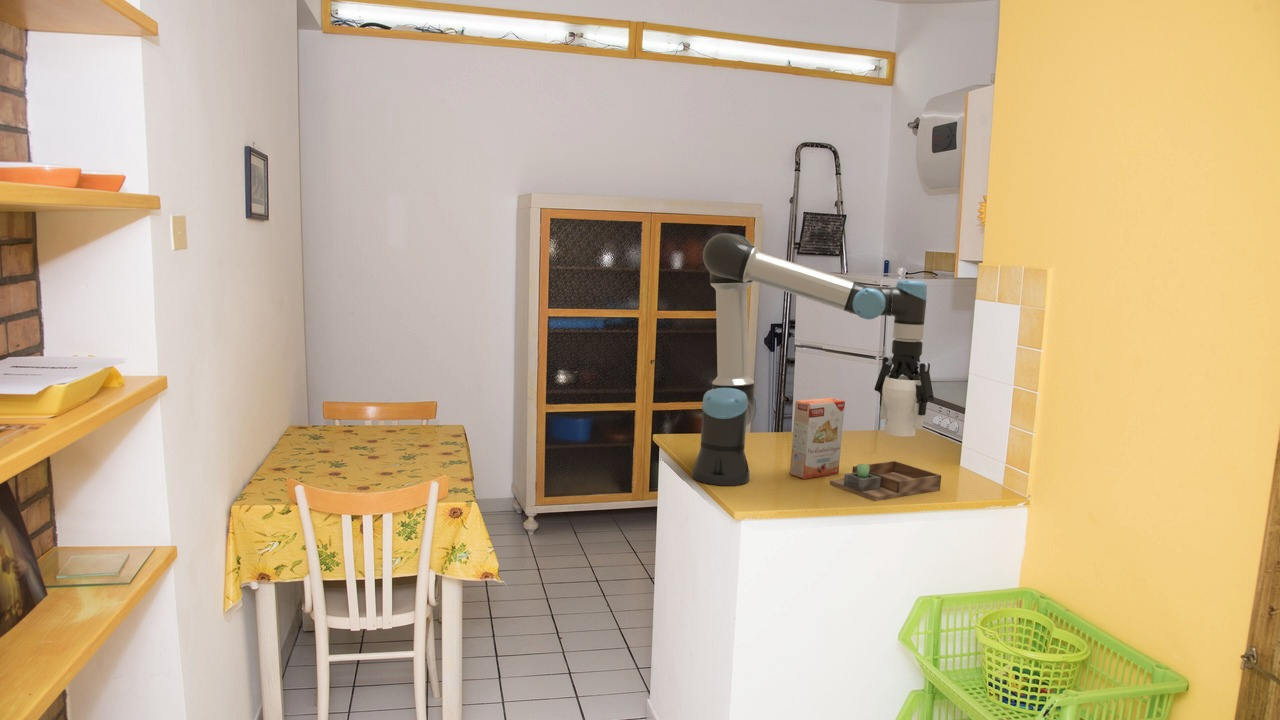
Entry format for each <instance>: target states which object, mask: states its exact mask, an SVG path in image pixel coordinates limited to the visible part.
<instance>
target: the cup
mask: <svg viewBox="0 0 1280 720" xmlns="http://www.w3.org/2000/svg"><path fill="white" fill-rule="evenodd" d="M889 375H890V374H889ZM889 375H888V376H886V377H885V381H884V384H883V391H882V394H883V399H884V402H885V405H886V407H887V411H888V419H887V422H886V423H885V424H886V425H885V430H884V433H886V434H887V435H890V436H896V437H903V438H906V437H914V436H916V428H914V427H913V422H914V410H915V403H916V402H917V401H918V400H917V397H916V385H918V386H919V385H921V381H920V380H910V379H908V377H907V376H904V375H901V376H899V378H898V379H893V378H889Z"/></svg>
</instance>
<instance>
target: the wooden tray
mask: <svg viewBox="0 0 1280 720" xmlns="http://www.w3.org/2000/svg"><path fill="white" fill-rule="evenodd" d="M867 465H869V477H868V478H860V477H858V476H857V465H853V466H852V471H851V472H847V473H844V478H838V479H831V480H829V485H831V486H834V487H836V488H839V489H842V490H845V491H847V492H850V493H853V494H855V495H858V496H861V497H863V498H866V499H869V500H872V501H874V502H877V501H882V500H887V499H888V500H889V499H894V498H895V499H896V498H899V497H906V496H907V497H908V496H913V495H919V494H925V493H930V492H936V491H937V492H938V491H941V482H942V475H941V474H938V473H935V472H932V471H930V470H929V471H928V470H926V469H921V468H918V467H915V466H912V465H909V464H906V463H902V462H899V461H896V460H893V461H892V460H891V461H885V462H877V463H870V464H869V463H868V464H867Z"/></svg>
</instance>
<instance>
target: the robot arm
mask: <svg viewBox="0 0 1280 720" xmlns="http://www.w3.org/2000/svg"><path fill="white" fill-rule="evenodd" d="M702 259H703V263H704V265H705V267H706V269H707V270H708V271H709V283H710V286H711V287H712V288H714V290H715V301H716V302H715V304H716V305H715V307H716V310H715V313H716V355H717V357H716V362H717V370H716V371H717V376H716V377H715V379H714V380H713V381H712V382H711V385H712V386H711V387H712V389H709V390H707V391H706V392H705V393H704V394H703V398H702V402H701V408H702V409H701V411H702V413H701V433H700V448H699V451H698V454H697V456H696V459H695V461H694V465H693V466H692V478H693V479H695V481H698V482H701V483H704V484H708V483H709V485H713V486H714V485H715V486H740V485H743V484H744V485H745V484H747V483H748V482H749V481H750V473H751V472H750V468H749V465H748V460H747V456H746V453H745V449H746V448H745V447H746V446H745V445H746V444H745V443H746V432H747V431H746V428H747V426H748V425H750V424H751V422H753V420H754V419H755V416H756V414H757V411H758V402H757V399H756V398H757V397H756V395H755V381H754V379H753V378H751V377H750V375H749V329H748V328H749V323H748V322H749V321H748V320H749V319H748V318H749V317H748V316H749V315H748V290H749V288H750V287H751V286H752V284H753V282H755V283H757V284H761V285H765V286H767V287H770V288H773V289H777V290H780V291H782V292H786V293H789V294H790V295H791V294H792V295H795V296H797V297H800V298H801V297H802V298H804V299H808V300H810V301H814V302H817V303H819V304H823V305H826V306H828V307H832V308H835V309H837V310H841V311H844V312H847V313H850V314H854V315H856V316H858V317H859V318H862V319H864V320H873V319H877V318H879V317H880V316H883V317H884V316H885V317H887V316H888V317H891V316H892V317H894V321H893V331H892V338H894V339H893V340H892V343H891V353H892V356H883V357H882V365H881V367H880V371H879V374H878V377H877V380H876V383H875V385H874V391H875V392H878V393H879V406H880V416H879V417H880V418H879V419H880V420H888V411H887V407H886V405H885V402H884V399H883V394H882V391H883V384H884V381H885V377H886V376H888V375H889V378H893V379H898V378H899V376H901V375H904V376H907V377H908V379H910V380H920V381H921V385H919V386H918V385H916V397H917V400H918V401H917V402H916V403H915V410H914V422H913V427H914V428H915V429H916V428H917V429H918V428H923V426H924V425H923V424H924V416H926V413H927V404H928V403H929V402H930V403H931V402H933V401H934V400H935V397H934V392H933V391H934V390H933V385H932V379H931V375H930V373H931V372H930V370H931V364H930V363H929V362H921V359H920V358H921V356H922V354H923V344H924V343H923V342H922V341H921V340H923V339H924V330H925V329H924V328H925V318H926V316H925V315H926V308H927V300H928V299H927V292H928V291H927V290H928V288H927V287H928V286H927V285H928V284H926V282H925V281H923V280H910V279H909V280H905V279H902V280H901V279H900V280H897V283H896V286H893V287H892V286H891V287H890V286H889V287H887V286H873V285H872V286H871V285H865V284H861V283H858V282H854V281H852V280H848V279H845V278H842V277H839V276H836V275H832V274H829V273H827V272H824V271H820V270H819V269H814V268H811V267H808V266H805V265H802V264H798V263H795V262H792V261H789V260H786V259H782V258H779V257H776V256H773V255H770V254H767V253H764V252H761V251H759V248H758V246H754V245H752V243H751V242H750V241H749V240H748V239H747V238H746V237H745V236H743V235H740V234H737V233H729V232H728V233H727V232H726V233H724V232H723V233H719V234H716V235H714V236H712V237H711V238H710V239H708V241H707V242H706V244H705V246H704V247H703V251H702Z"/></svg>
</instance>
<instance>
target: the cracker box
mask: <svg viewBox="0 0 1280 720" xmlns="http://www.w3.org/2000/svg"><path fill="white" fill-rule="evenodd" d="M845 405H846V401H845V400H842V399H838V398H833V397H825V398H814V399H813V398H812V399H811V398H810V399H809V398H808V399H799V400H795V403H794V418H793V429H792V430H793V431H792V442H791V443H792V444H791V454H790V455H791V456H790V467H789V468H790V469H789V475H790V476H794V477H797V478H799V479H802V480H807V479H812V478H818V477H819V478H820V477H824V476H831V475H837V474H839V471H840V470H839V469H840V462H841V461H840V460H841V449H842V441H843V439H842V437H843V428H844V416H845Z"/></svg>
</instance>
